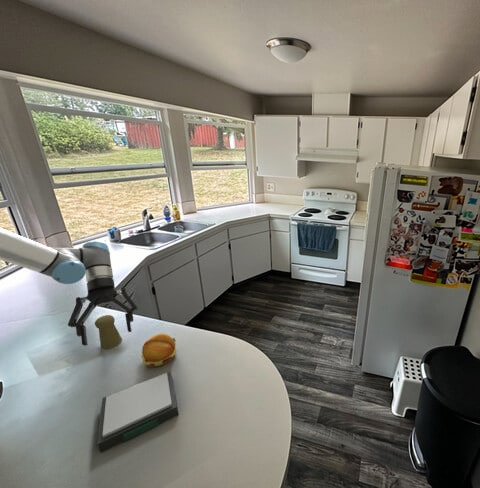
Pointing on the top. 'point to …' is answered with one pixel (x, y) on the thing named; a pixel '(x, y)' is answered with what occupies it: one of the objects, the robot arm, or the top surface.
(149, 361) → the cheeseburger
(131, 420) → the kitchen scale
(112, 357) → the top surface
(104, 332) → the cork
